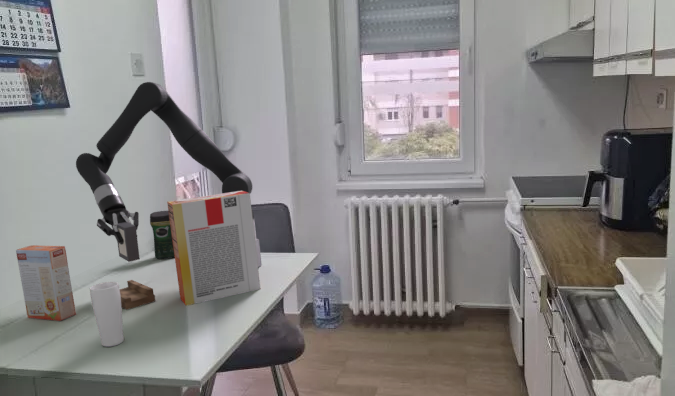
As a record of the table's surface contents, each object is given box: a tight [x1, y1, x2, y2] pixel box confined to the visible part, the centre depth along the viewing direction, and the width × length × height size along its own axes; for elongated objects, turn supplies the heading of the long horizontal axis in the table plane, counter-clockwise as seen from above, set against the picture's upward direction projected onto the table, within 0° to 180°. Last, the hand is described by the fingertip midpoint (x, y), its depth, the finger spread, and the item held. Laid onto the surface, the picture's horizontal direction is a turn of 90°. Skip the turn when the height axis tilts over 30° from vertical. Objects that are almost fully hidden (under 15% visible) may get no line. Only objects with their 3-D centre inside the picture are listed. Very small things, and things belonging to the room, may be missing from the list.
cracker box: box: [15, 244, 77, 322], centre depth 169 cm, size 14×6×21 cm, turn 65°
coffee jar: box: [149, 210, 175, 260], centre depth 230 cm, size 10×8×19 cm
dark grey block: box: [116, 222, 140, 262], centre depth 186 cm, size 8×4×11 cm, turn 41°
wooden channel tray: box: [119, 279, 156, 311], centre depth 179 cm, size 16×9×4 cm, turn 42°
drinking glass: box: [89, 281, 125, 348], centre depth 144 cm, size 7×7×15 cm
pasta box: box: [166, 191, 261, 306], centre depth 176 cm, size 23×8×30 cm, turn 116°
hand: (128, 241), depth 185 cm, fingers closed on dark grey block, 3 cm apart
